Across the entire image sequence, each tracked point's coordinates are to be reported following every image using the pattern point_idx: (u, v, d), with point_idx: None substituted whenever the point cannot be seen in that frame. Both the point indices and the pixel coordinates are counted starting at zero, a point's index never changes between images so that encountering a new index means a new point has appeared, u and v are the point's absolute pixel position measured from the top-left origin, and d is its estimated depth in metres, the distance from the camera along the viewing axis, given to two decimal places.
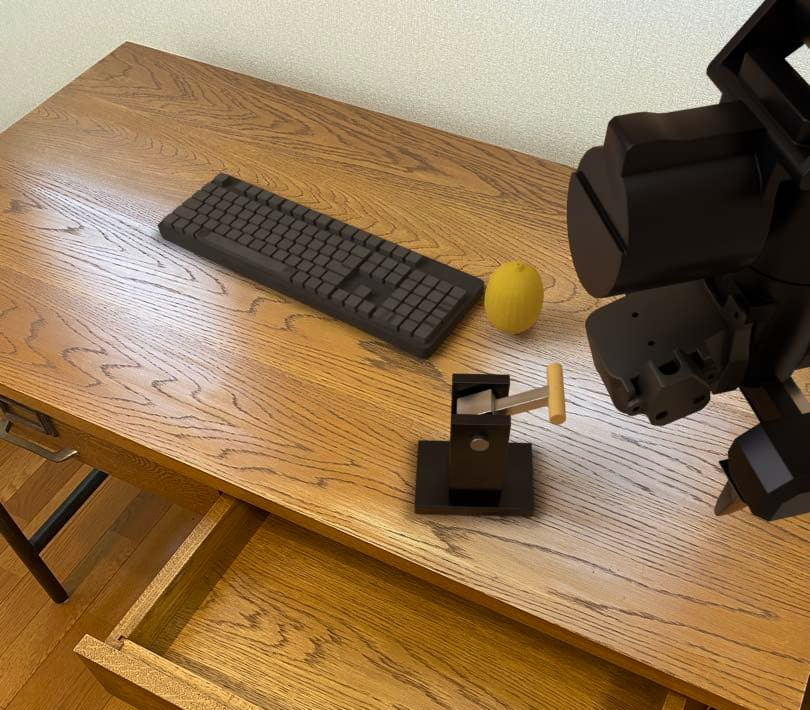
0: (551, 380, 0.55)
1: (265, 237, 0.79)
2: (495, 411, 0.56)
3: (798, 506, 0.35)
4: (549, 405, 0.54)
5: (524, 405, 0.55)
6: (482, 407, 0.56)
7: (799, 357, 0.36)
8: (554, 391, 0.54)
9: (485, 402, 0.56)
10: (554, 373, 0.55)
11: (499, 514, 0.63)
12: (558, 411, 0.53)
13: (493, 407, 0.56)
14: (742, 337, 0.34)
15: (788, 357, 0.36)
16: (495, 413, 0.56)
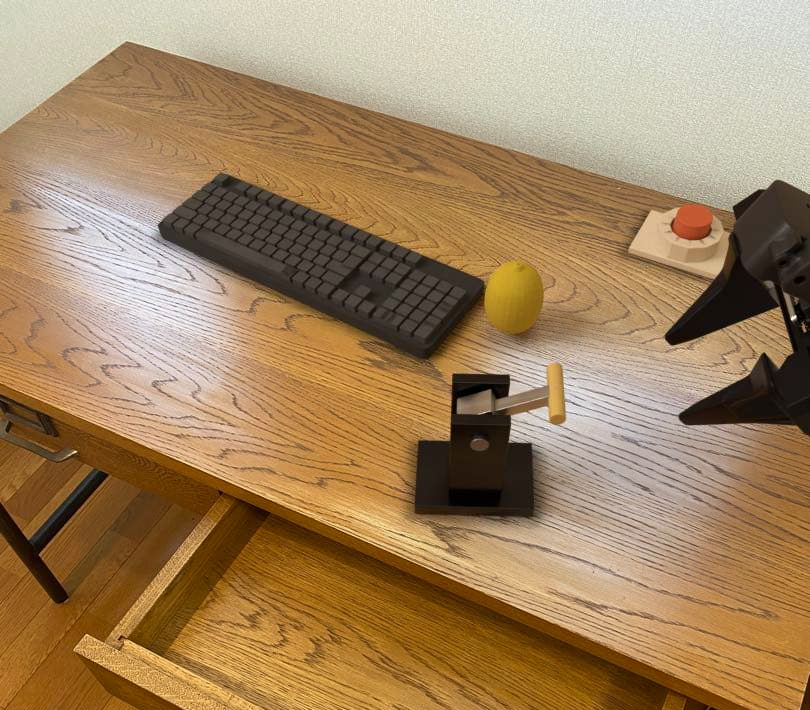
0: (551, 380, 0.55)
1: (265, 237, 0.79)
2: (495, 411, 0.56)
3: None
4: (549, 405, 0.54)
5: (524, 405, 0.55)
6: (482, 407, 0.56)
7: None
8: (554, 391, 0.54)
9: (485, 402, 0.56)
10: (554, 373, 0.55)
11: (499, 514, 0.63)
12: (558, 411, 0.53)
13: (493, 407, 0.56)
14: None
15: None
16: (495, 413, 0.56)
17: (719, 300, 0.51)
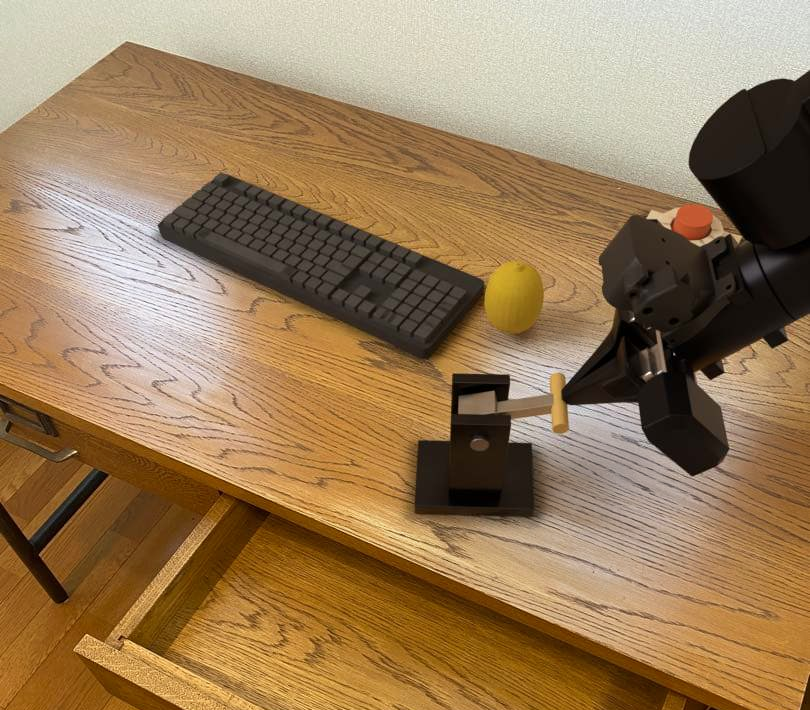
0: (555, 389, 0.55)
1: (265, 237, 0.79)
2: (497, 413, 0.56)
3: (672, 442, 0.44)
4: (553, 414, 0.55)
5: (527, 410, 0.56)
6: (486, 407, 0.56)
7: (715, 359, 0.47)
8: (558, 400, 0.55)
9: (488, 403, 0.56)
10: (558, 383, 0.56)
11: (499, 514, 0.63)
12: (562, 421, 0.54)
13: (496, 409, 0.56)
14: (717, 306, 0.44)
15: (715, 351, 0.46)
16: None
17: (609, 359, 0.52)
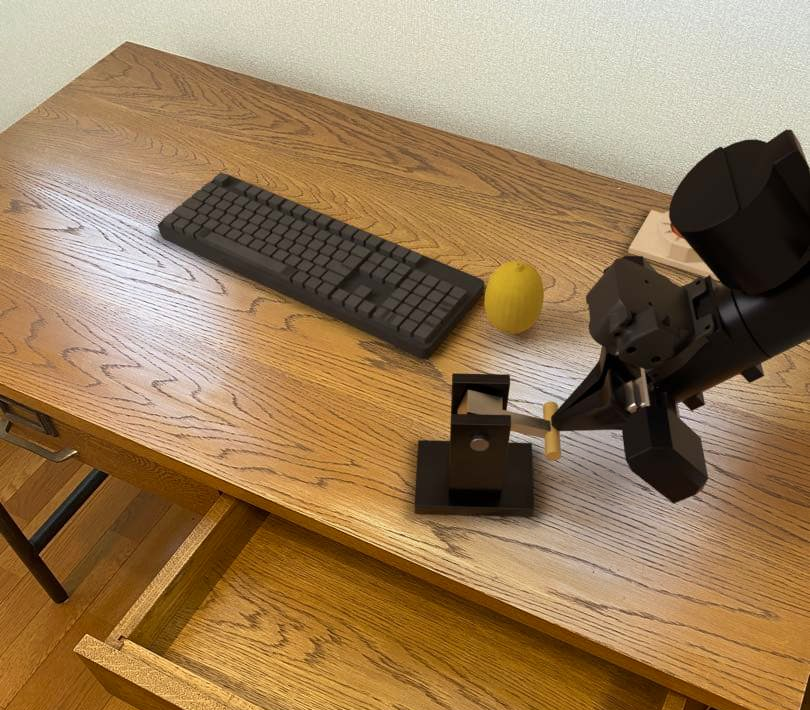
0: None
1: (265, 237, 0.79)
2: None
3: (654, 472, 0.47)
4: (549, 440, 0.57)
5: (525, 428, 0.57)
6: (494, 411, 0.56)
7: (696, 392, 0.50)
8: (555, 429, 0.58)
9: (496, 408, 0.56)
10: None
11: (499, 514, 0.63)
12: (558, 449, 0.57)
13: None
14: (697, 345, 0.46)
15: (696, 385, 0.49)
16: None
17: (596, 389, 0.55)
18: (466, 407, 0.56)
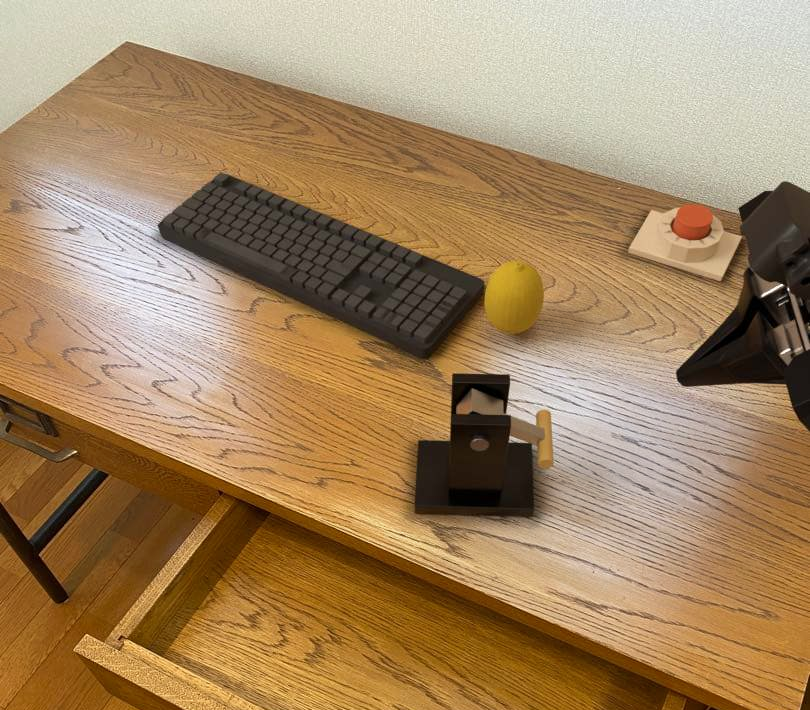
0: (546, 426, 0.59)
1: (265, 237, 0.79)
2: None
3: None
4: (543, 447, 0.58)
5: (521, 433, 0.58)
6: (496, 413, 0.56)
7: None
8: (549, 438, 0.59)
9: (498, 410, 0.56)
10: (549, 421, 0.59)
11: (499, 514, 0.63)
12: (552, 458, 0.58)
13: None
14: None
15: None
16: None
17: (733, 338, 0.50)
18: (470, 406, 0.56)
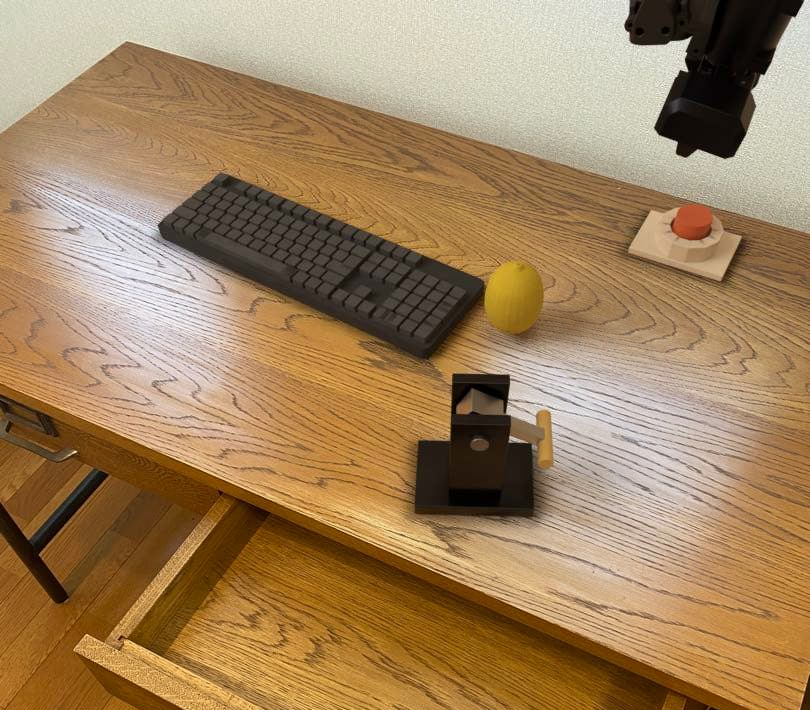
0: (546, 426, 0.59)
1: (265, 237, 0.79)
2: None
3: (678, 128, 0.53)
4: (543, 447, 0.58)
5: (521, 433, 0.58)
6: (496, 413, 0.56)
7: (748, 51, 0.53)
8: (549, 438, 0.59)
9: (498, 410, 0.56)
10: (549, 421, 0.59)
11: (499, 514, 0.63)
12: (552, 458, 0.58)
13: None
14: (712, 2, 0.52)
15: (739, 43, 0.53)
16: None
17: None
18: (470, 406, 0.56)
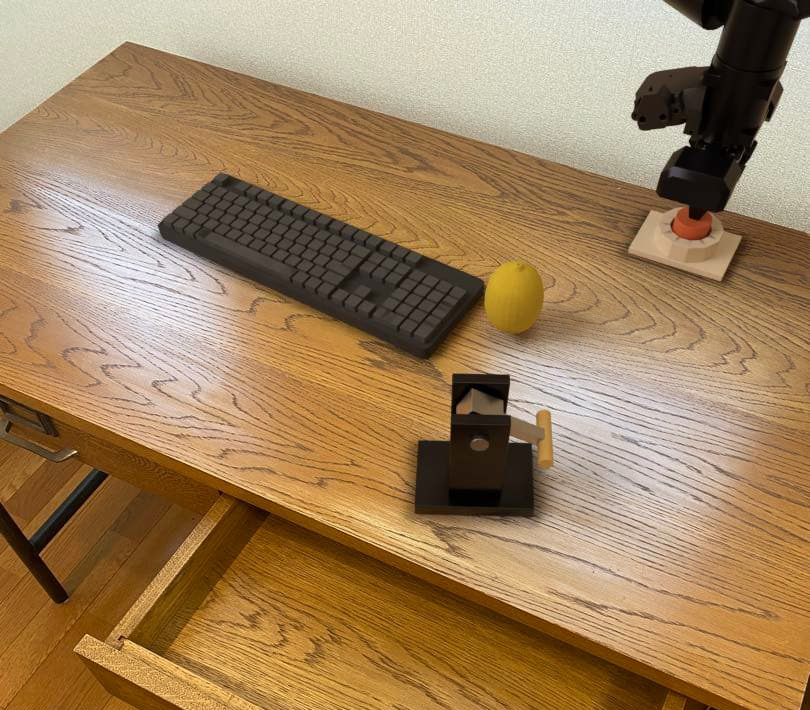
0: (546, 426, 0.59)
1: (265, 237, 0.79)
2: None
3: (674, 190, 0.65)
4: (543, 447, 0.58)
5: (521, 433, 0.58)
6: (496, 413, 0.56)
7: (734, 129, 0.65)
8: (549, 438, 0.59)
9: (498, 410, 0.56)
10: (549, 421, 0.59)
11: (499, 514, 0.63)
12: (552, 458, 0.58)
13: None
14: (700, 94, 0.65)
15: (725, 124, 0.65)
16: None
17: None
18: (470, 406, 0.56)
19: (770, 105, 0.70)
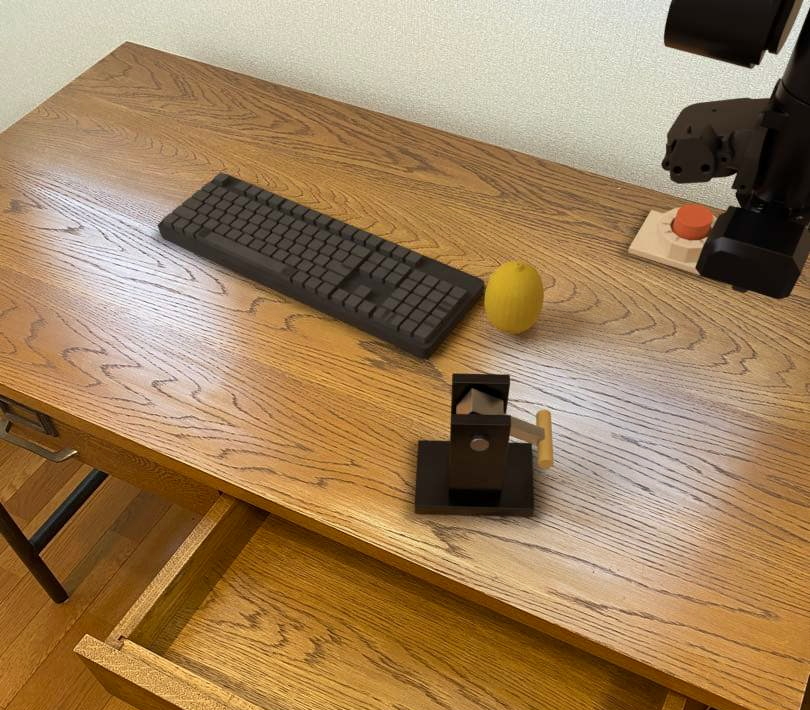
0: (546, 426, 0.59)
1: (265, 237, 0.79)
2: None
3: (721, 268, 0.48)
4: (543, 447, 0.58)
5: (521, 433, 0.58)
6: (496, 413, 0.56)
7: (803, 186, 0.48)
8: (549, 438, 0.59)
9: (498, 410, 0.56)
10: (549, 421, 0.59)
11: (499, 514, 0.63)
12: (552, 458, 0.58)
13: None
14: (758, 137, 0.47)
15: (792, 178, 0.48)
16: None
17: None
18: (470, 406, 0.56)
19: None
